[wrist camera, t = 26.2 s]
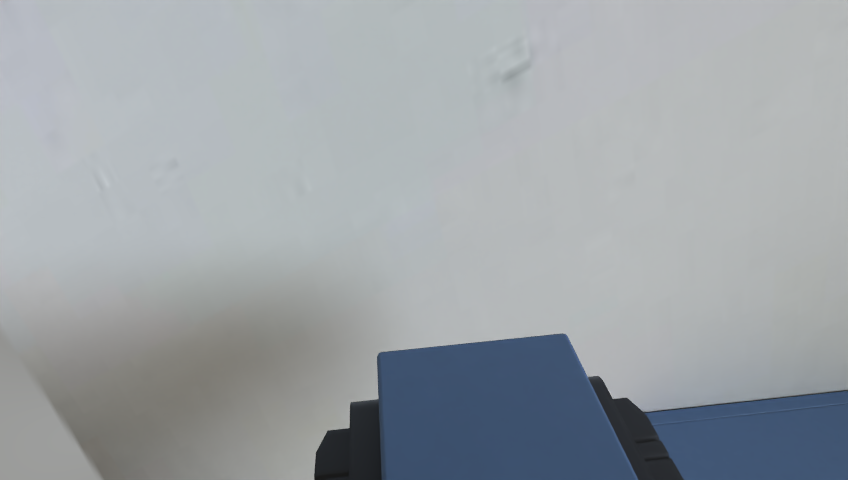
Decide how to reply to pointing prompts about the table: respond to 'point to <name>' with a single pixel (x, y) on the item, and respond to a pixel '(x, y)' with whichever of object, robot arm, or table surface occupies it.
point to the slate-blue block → (494, 414)
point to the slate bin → (759, 439)
